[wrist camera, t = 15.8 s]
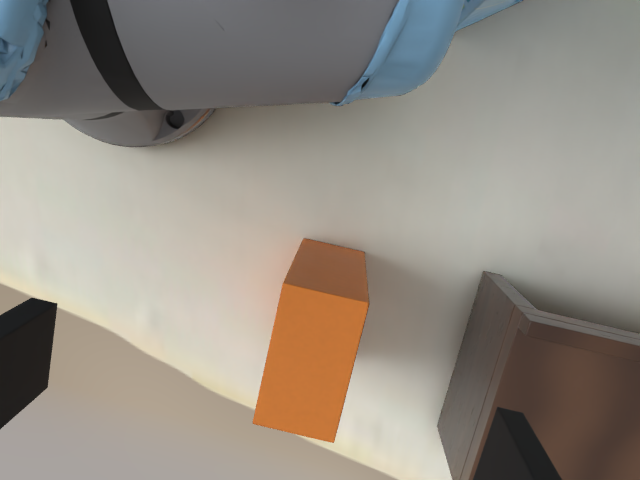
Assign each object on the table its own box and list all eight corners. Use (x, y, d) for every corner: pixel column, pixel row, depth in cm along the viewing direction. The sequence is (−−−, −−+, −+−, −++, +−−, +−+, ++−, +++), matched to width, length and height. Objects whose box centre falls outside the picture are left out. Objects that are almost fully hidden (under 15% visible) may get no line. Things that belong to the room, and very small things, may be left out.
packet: (280, 340, 45) (252, 424, 32) (303, 237, 43) (282, 282, 30) (339, 354, 45) (333, 443, 32) (364, 251, 43) (369, 303, 30)
